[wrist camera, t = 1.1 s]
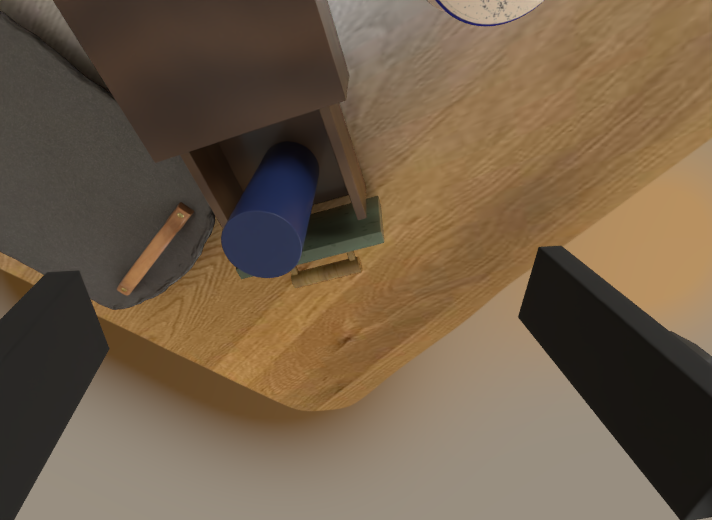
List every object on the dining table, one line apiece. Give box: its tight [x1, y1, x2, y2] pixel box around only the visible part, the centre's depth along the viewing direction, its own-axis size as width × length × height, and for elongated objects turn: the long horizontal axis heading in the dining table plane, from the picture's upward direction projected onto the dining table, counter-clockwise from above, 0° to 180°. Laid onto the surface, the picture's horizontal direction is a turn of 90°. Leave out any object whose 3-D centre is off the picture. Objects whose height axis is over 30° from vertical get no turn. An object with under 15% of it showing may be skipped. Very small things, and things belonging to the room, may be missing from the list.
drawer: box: [180, 103, 384, 288], centre depth 35 cm, size 20×14×7 cm
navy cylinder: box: [221, 142, 319, 278], centre depth 31 cm, size 5×5×13 cm
